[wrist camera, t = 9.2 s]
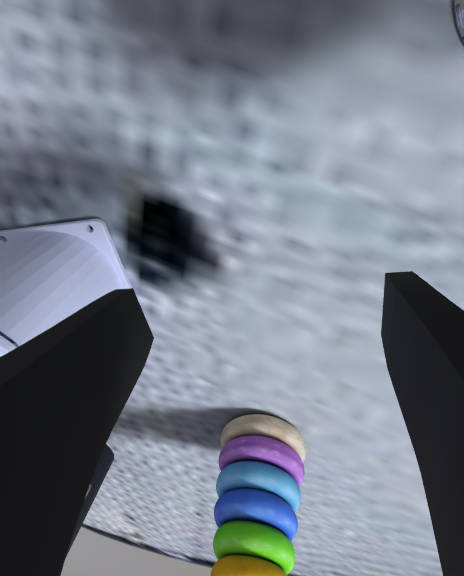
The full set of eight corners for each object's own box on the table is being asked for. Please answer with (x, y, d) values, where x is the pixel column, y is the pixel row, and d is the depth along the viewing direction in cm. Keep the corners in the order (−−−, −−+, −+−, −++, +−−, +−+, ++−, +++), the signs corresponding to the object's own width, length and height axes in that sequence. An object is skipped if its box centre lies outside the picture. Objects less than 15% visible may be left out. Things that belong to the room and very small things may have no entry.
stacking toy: (217, 445, 34) (142, 759, 18) (231, 399, 29) (147, 770, 14) (291, 467, 33) (278, 805, 18) (318, 424, 29) (330, 833, 13)
